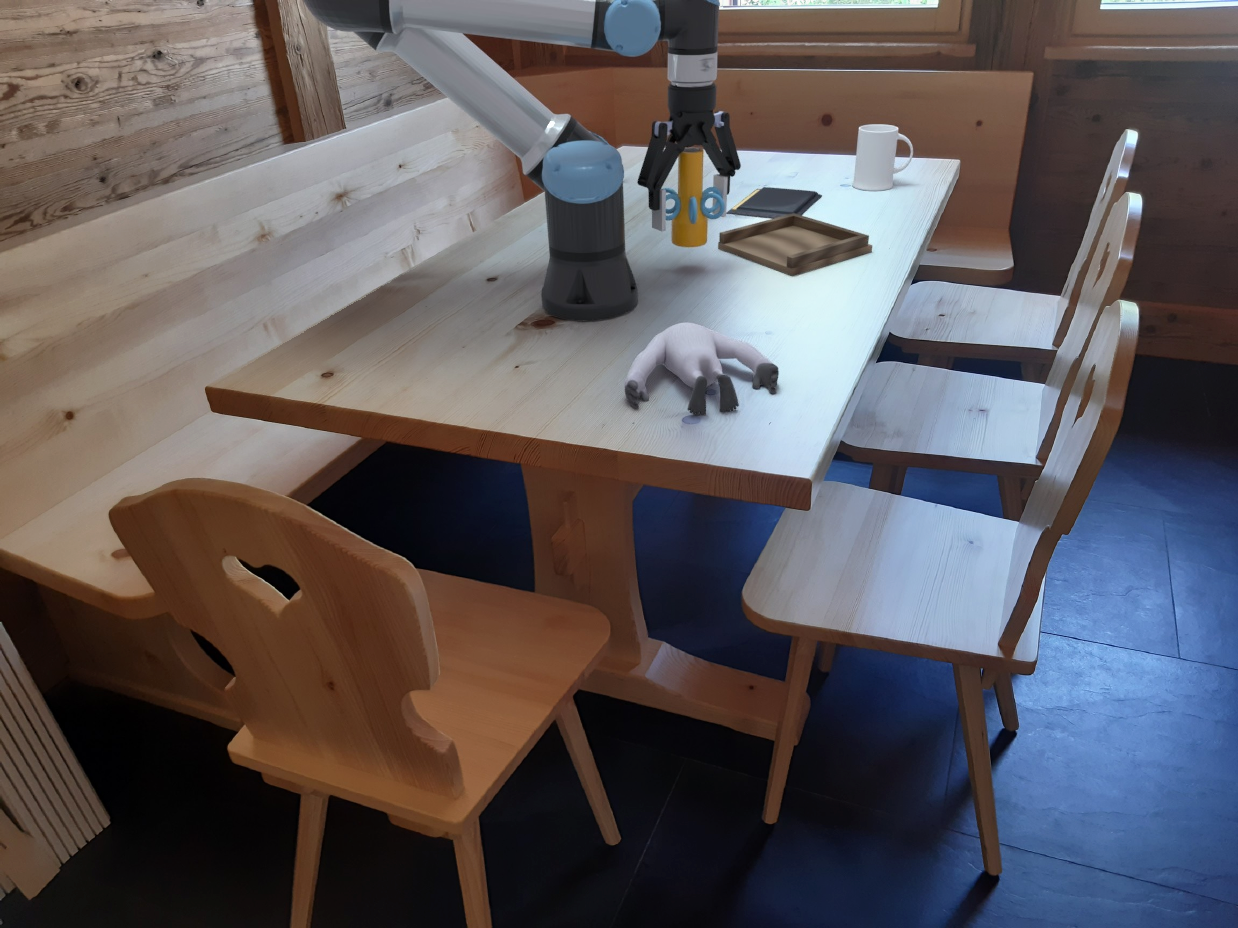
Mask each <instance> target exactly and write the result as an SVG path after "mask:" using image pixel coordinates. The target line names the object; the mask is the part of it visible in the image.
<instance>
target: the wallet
mask: <svg viewBox="0 0 1238 928" xmlns="http://www.w3.org/2000/svg"><path fill="white" fill-rule="evenodd" d="M822 197H823V195H822V194H820V193H818V191H815V190H804V189H793V188H780V187H770V186H768V187H766V186H764V187H762V188H756V189H755V190H754V191H752V192H751V193H750V194H749V195H747V196H746V197H745V198H743V199H742V200H741V201H739V202H738V203H737V204H736V205H735V206H733V207H732V208H730V209H729V210H728V211H726V215H735V216H741V217H742V216H744V217H752V218H762V219H769V220H770V219H774V218H778V217H781V216H785V215H789V214H793V213H795V214H798V215H802V216H804V214H805V213H806V212H807V211H808V210H809V209H810V208H811V207H812V206H814V205H815V204H816V203H817V202H818V201H819V200H821V199H822Z"/></svg>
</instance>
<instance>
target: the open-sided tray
mask: <svg viewBox="0 0 1238 928" xmlns="http://www.w3.org/2000/svg"><path fill="white" fill-rule="evenodd" d="M718 235H719V236H718V237H719V241H718V243H717V250H720V251H723V252H725V253H728V254H731V255H733V256H734V255H735V256H736V257H738V258H739V257H740V258H742V259H745V260H748V261H751V262H753V263H756V264H758V265H761V266H764V267H766V268H770V269H772V270H774V271H778V272H780V273H783V274H786V275H788V276H791V277H795V276H798V275H801V274H804V273H808V272H810V271H814V270H817V269H822V268H823V267H827V266H830V265H834V264H837V263H840V262H843V261H847V260H849V259H853V258H856V257H860V256H864V255H867V254H869V253H872V251H873V244H871V243H869V239H870V235H869V234H866V233H862V232H859V231H855V230H851V229H848V228H844V227H841V226H838V225H834V224H832V223H828V222H826V221H821V220H818V219H815V218H811V217H809V216H804V215H798V214H795V213H793V214H789V215H785V216H781V217H778V218H774V219H770V218H769V219H766V220H764V221H760V222H755V223H751V224H748V225H745V226H740V227H737V228H733V229H728V230H724V231H722V232H719V234H718Z"/></svg>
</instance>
